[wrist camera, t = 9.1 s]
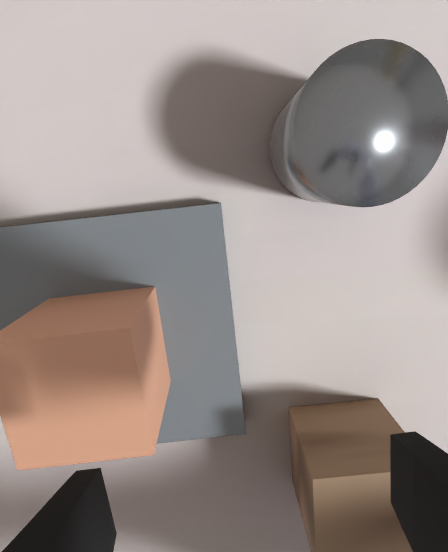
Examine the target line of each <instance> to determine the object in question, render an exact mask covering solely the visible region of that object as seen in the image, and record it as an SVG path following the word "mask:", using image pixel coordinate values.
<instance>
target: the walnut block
mask: <svg viewBox="0 0 448 552" xmlns="http://www.w3.org/2000/svg"><path fill="white" fill-rule="evenodd" d="M289 424H290V442H291V460H292V478H293V484H294V488H295V492H296V496H297V499H298V503H299V507H300V511H301V515H302V518H303V522H304V526H305V530H306V533H307V537H308V541H309V545H310V549H311V552H413V551H412V549H411V547H410V544H409V542H408V540H407V538H406V536H405V534H404V531H403V529H402V527H401V525H400V522H399V520H398V518H397V516H396V513H395V511H394V509H393V506H392V504H391V480H390V434H398V433H405V432H404V431H403V430H402V429H401V427H400V426H399V425H398V423H397V422H396V421H395V419H394V418H393V417H392V416H391V414H390V413H389V412H388V410H387V409H386V408H385V407H384V405H383V404H382V403H381V401H380V400H379V399H368V400H358V401H348V402H338V403H328V404H318V405H308V406H297V407H289Z"/></svg>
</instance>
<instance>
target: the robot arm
mask: <svg viewBox="0 0 448 552" xmlns="http://www.w3.org/2000/svg"><path fill="white" fill-rule="evenodd" d="M390 480H391V504H392V506H393V509H394V511H395V513H396V516H397V518H398V520H399V522H400V525H401V527H402V529H403V531H404V534H405V536H406V538H407V540H408V542H409V544H410V547H411V549H412V551H413V552H448V454H447V453H446V452H444V451H443V450H442V449H440V448H439V447H437V446H436V445H434V444H433V443H432V442H430V441H429V440H427V439H426V438H424V437H423V436H421V435H420V434H418V433H417V432H407V433H398V434H390ZM115 539H116V530H115V525H114V521H113V517H112V513H111V509H110V505H109V501H108V497H107V493H106V489H105V484H104V480H103V476H102V472H101V468H97V469H89V470H80V471H76V472H75V473H74V474H73V475H72V476H71V477H70V478H69V479H68V480H67V481H66V482H65V483H64V485H63V486H62V487H61V488H60V489H59V490H58V491H57V492H56V493H55V494H54V496H53V497H52V498H51V499H50V500H49V501H48V502H47V503H46V504H45V505H44V507H43V508H42V509H41V510H40V511H39V512H38V513H37V514H36V515H35V517H34V518H33V519H32V520H31V521H30V522H29V523H28V524H27V525H26V526H25V527H24V528H23V530H22V531H21V532H20V533H19V534H18V535H17V536H16V537H15V538H14V539H13V540H12V541H11V543H10V544H9V545H8V546H7V547H6V548H5V549H4V550H3V551H2V552H113V550H114V544H115Z"/></svg>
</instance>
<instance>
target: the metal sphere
mask: <svg viewBox="0 0 448 552" xmlns="http://www.w3.org/2000/svg"><path fill="white" fill-rule="evenodd" d="M447 130H448V100H447V95H446V91H445V88H444V85H443V83H442V80H441V78H440V76H439V74H438V73H437V71H436V69H435V68H434V67H433V65H432V64H431V63H430V62H429V61H428V59H426V58H425V57H424V56H423V55H422V54H421V53H420V52H418V51H417V50H415V49H413V48H412V47H410V46H408V45H405V44H403V43H400V42H397V41H393V40H386V39H370V40H365V41H360V42H357V43H354V44H351V45H349V46H347V47H345V48H343V49H341V50H339V51H337V52H336V53H334V54H333V55H331V56H330V57H329V58H328V59H327V60H325V61H324V62H323V63H322V64H321V65H320V66H319V67H318V69H317V70H316V71H315V72H314V73H313V74H312V75H311V77H310V78H309V79H308V80H307V81H306V82H305V84H304V85H303V86H302V87H301V88H300V90H299V91H298V92H297V93H296V94H295V95H294V97H293V98H292V99H291V100H290V101H289V102H288V104H287V105H286V106H285V107H284V108H283V110H282V111H281V113H280V114H279V116H278V117H277V119H276V121H275V124H274V126H273V129H272V133H271V137H270V159H271V163H272V167H273V169H274V172H275V174H276V176H277V177H278V179H279V181H280V182H281V183H282V184H283V186H284V187H285V188H286V189H287V190H289V191H290V192H291V193H293V194H294V195H296V196H298V197H300V198H302V199H305V200H309V201H314V202H322V203H330V204H338V205H346V206H355V207H373V206H378V205H383V204H386V203H389V202H392V201H394V200H396V199H398V198H400V197H402V196H403V195H405V194H407V193H408V192H410V191H411V190H412V189H413V188H415V187H416V186H417V185H418V184H419V183H420V182H421V181H422V180H423V179H424V178H425V177H426V176H427V174H428V173H429V172H430V171H431V169H432V168H433V166H434V164H435V163H436V161H437V159H438V157H439V155H440V153H441V151H442V148H443V145H444V142H445V139H446V135H447Z"/></svg>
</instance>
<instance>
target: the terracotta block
mask: <svg viewBox="0 0 448 552" xmlns="http://www.w3.org/2000/svg"><path fill="white" fill-rule="evenodd" d="M170 382H171V380H170V374H169V368H168V362H167V356H166V349H165V343H164V337H163V331H162V325H161V319H160V313H159V307H158V301H157V295H156V289H155V287H146V288H137V289H128V290H119V291H110V292H101V293H93V294H84V295H75V296H66V297H57V298H49V299H48V300H46V301H45V302H43V303H41V304H40V305H38V306H37V307H35V308H34V309H32V310H31V311H29V312H28V313H26V314H25V315H23V316H22V317H20V318H19V319H17V320H16V321H14V322H13V323H11V324H10V325H8V326H7V327H5V328H4V329H2V330H1V331H0V415H1V418H2V421H3V425H4V428H5V431H6V434H7V438H8V441H9V444H10V447H11V451H12V454H13V457H14V460H15V464H16V467H17V470H25V469H34V468H43V467H52V466H61V465H70V464H79V463H88V462H97V461H106V460H115V459H123V458H132V457H141V456H150V455H154V453H155V448H156V444H157V439H158V435H159V431H160V426H161V422H162V417H163V413H164V409H165V404H166V400H167V395H168V391H169V387H170Z"/></svg>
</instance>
